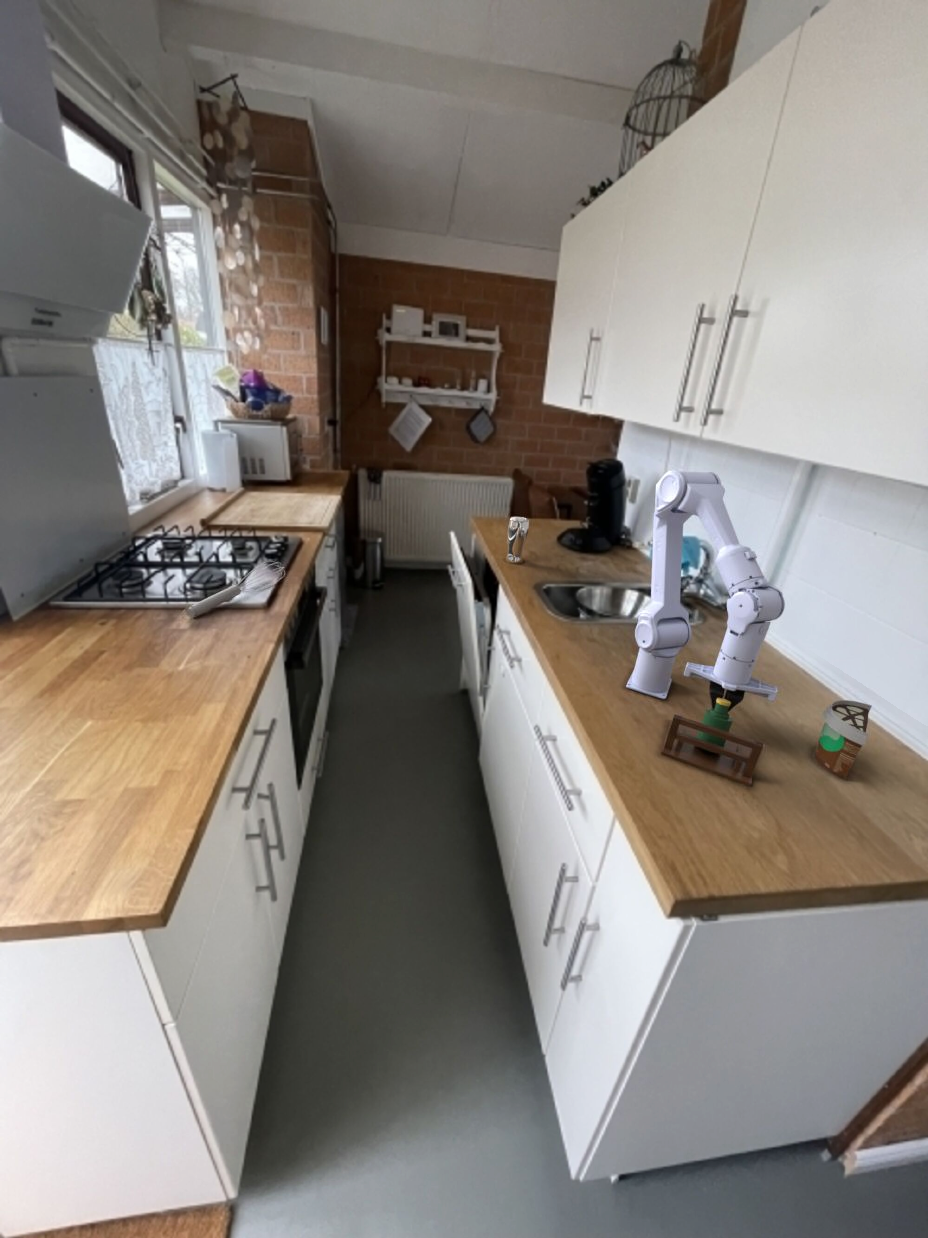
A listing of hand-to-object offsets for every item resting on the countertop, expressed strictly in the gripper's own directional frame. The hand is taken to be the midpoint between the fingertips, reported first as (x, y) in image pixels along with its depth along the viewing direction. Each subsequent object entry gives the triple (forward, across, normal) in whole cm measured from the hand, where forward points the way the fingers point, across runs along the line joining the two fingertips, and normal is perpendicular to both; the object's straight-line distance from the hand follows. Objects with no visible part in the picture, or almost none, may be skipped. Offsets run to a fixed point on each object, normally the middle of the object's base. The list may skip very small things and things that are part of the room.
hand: (715, 720), depth 92 cm
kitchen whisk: (+3, -112, -9) cm, 113 cm away
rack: (+3, 0, -6) cm, 7 cm away
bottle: (+2, 0, -6) cm, 6 cm away
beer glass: (+3, -70, +71) cm, 100 cm away
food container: (+4, +19, +5) cm, 20 cm away
